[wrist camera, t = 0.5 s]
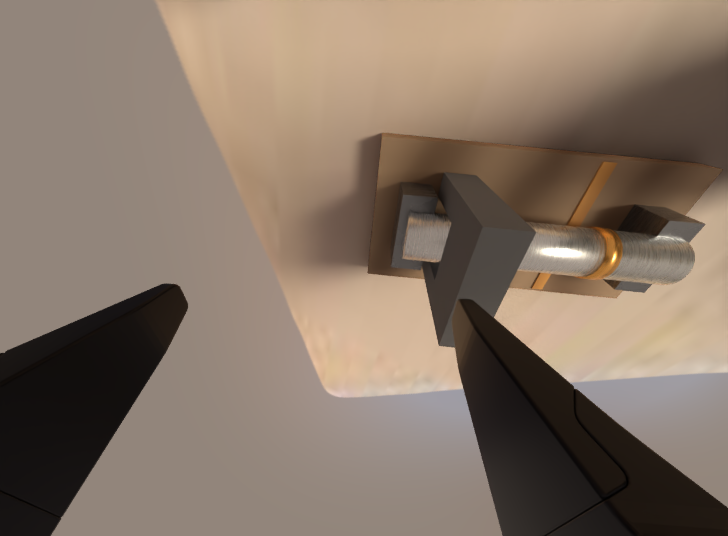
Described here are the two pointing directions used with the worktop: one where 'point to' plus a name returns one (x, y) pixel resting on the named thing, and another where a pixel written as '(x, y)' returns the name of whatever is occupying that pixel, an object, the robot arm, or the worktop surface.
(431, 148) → the board
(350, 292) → the worktop surface
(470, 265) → the slotted grey bracket
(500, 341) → the robot arm
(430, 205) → the pipe rig
